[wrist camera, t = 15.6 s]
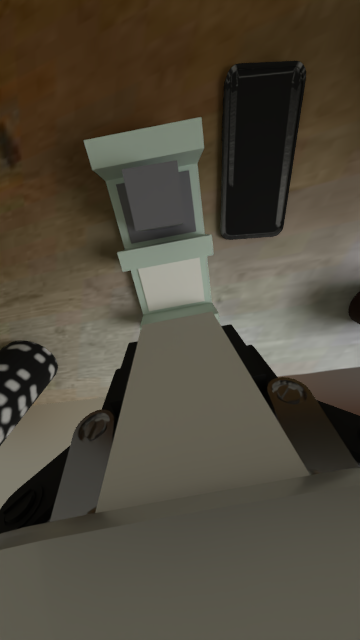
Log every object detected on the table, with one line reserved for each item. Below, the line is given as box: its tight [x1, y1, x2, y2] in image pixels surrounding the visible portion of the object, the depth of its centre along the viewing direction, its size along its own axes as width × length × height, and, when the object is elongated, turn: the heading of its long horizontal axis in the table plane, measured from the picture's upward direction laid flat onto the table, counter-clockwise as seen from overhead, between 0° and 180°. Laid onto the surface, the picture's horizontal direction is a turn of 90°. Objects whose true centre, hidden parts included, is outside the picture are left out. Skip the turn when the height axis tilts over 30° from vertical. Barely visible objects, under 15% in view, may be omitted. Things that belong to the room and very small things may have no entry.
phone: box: [220, 61, 306, 240], centre depth 21 cm, size 8×1×15 cm
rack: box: [83, 117, 220, 331], centre depth 22 cm, size 10×20×5 cm, turn 10°
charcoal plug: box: [122, 160, 185, 231], centre depth 18 cm, size 4×4×8 cm
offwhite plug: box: [95, 312, 310, 513], centre depth 8 cm, size 4×4×8 cm
